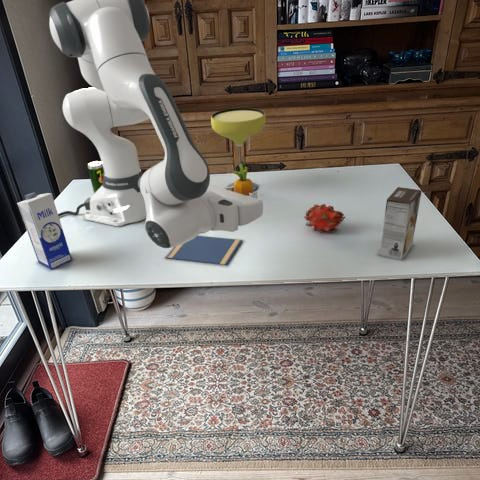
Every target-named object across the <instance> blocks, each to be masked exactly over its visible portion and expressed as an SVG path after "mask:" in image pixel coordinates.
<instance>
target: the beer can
mask: <svg viewBox="0 0 480 480" xmlns="http://www.w3.org/2000/svg"><path fill="white" fill-rule="evenodd" d="M87 171H88V174H89V179H90V182H91V186H92V191H93V194H94V193H95V192H96V191H97V190H98V189H99V188H100V187H101V186H102V183H103V180H101V181H100V182H99V180H100V179H98V178H100V177H101V176H102V175H103V174H104V169H103V165H102V161H101V160H99V161H98V160H95V161H91V162H89V163H87Z"/></svg>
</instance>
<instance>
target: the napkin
mask: <svg viewBox="0 0 480 480" xmlns="http://www.w3.org/2000/svg"><path fill="white" fill-rule="evenodd" d="M242 242H243V241H242V239H235V238H227V237H226V238H224V237H216V236H215V237H214V236H203V235H197V237H196V238H194V239H192V240H191V241H189V242H186V243H184V244H182V245H180V246H177V247H173V248H171V250H170V252H169V253H168V254H167V255H166V256H165V259H167V260H176V261H187V262H195V263H203V264H214V265H222V266H228V265H229V263H230V261H231V259H232V257H233V256H234V254H235V253H236V251H237V249H238V248H239V247H240V245H241V243H242Z"/></svg>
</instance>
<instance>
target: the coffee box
mask: <svg viewBox="0 0 480 480" xmlns="http://www.w3.org/2000/svg"><path fill="white" fill-rule="evenodd" d="M422 192H423V190H422V189H416V188H408V187H400V186H397V187H396V189H394V191H393V192H391V194H390V195H389V196H388V197H387V199H386V203H385V210H384V217H383V218H384V219H383V225H382V226H383V227H382V232H381V241H380V248H379V256H383V257H387V258H392V259H395V260H400V261H402V260H403V259H404V258H405V256H406V255H407V253H408V252H409V250H410V249H411V248H412V246H413V242H414V237H415V231H416V226H417V220H418V214H419V210H420V204H421V198H422Z"/></svg>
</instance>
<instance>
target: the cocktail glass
mask: <svg viewBox="0 0 480 480" xmlns="http://www.w3.org/2000/svg"><path fill="white" fill-rule="evenodd" d="M266 119H267V118H266V113H265V111H264V110H262V109H259V108H254V107H253V108H252V107H235V108H227V109H222V110H219V111H216V112H214V113H213V114H212V115H211V116H210V123H211V128H212V130H213V131H214V132H215V133H216V134H217V135H219V136H221V137H224V138H226V139H228V140H231V141H232V142H233V143H234V144H235V145H236V146H237V147H238V154H239V157H238V158H239V164H242V165H243V163H242V146H243V145H244V144H245V143H246V142H247V140H248V139H250V138H251V137H253V136H255V135H257V134H259V133H260V132H261V131H262V130H263V129H264V128H265V126H266V122H267V120H266ZM239 172H241V170H240V169H239ZM241 174H242V173H241ZM252 183H253V191H256V190H257V188H258V185H257V184H256V183H255V182H252ZM232 186H234V182H232V183H230V184H229V185H227V187H232Z"/></svg>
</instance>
